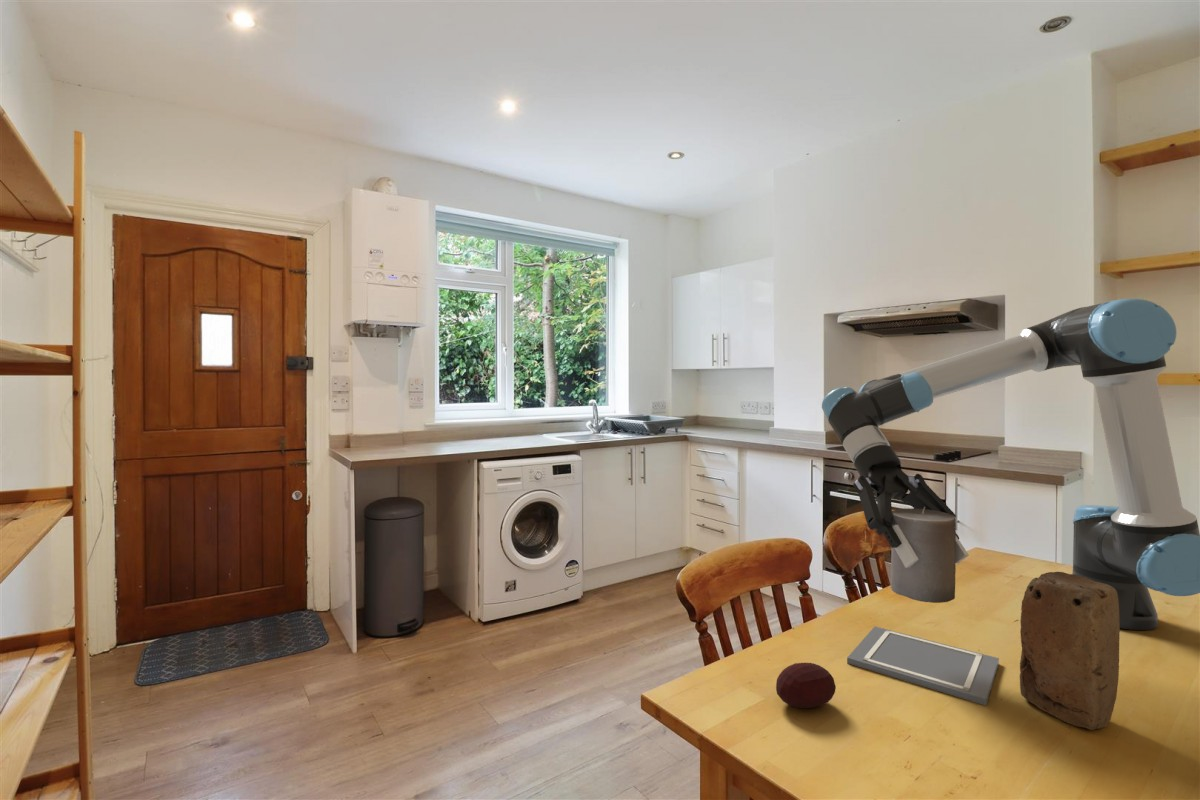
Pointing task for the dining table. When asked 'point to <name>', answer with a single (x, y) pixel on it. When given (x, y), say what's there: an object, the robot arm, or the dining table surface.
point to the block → (1070, 648)
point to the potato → (805, 685)
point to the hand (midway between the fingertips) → (937, 561)
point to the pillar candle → (926, 555)
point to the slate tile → (927, 664)
